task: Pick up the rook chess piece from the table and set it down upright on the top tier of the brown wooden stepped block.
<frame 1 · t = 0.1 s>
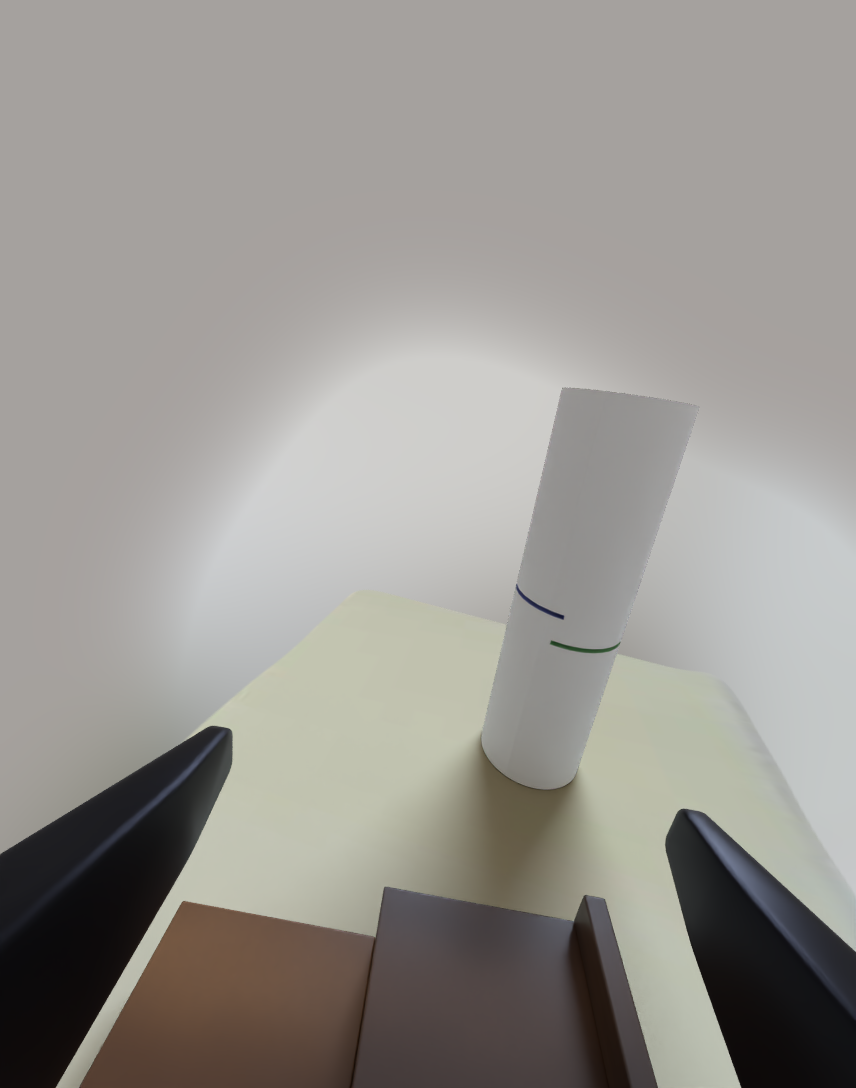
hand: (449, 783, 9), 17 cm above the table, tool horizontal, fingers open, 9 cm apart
cylindrical container: (528, 749, 33), on the table
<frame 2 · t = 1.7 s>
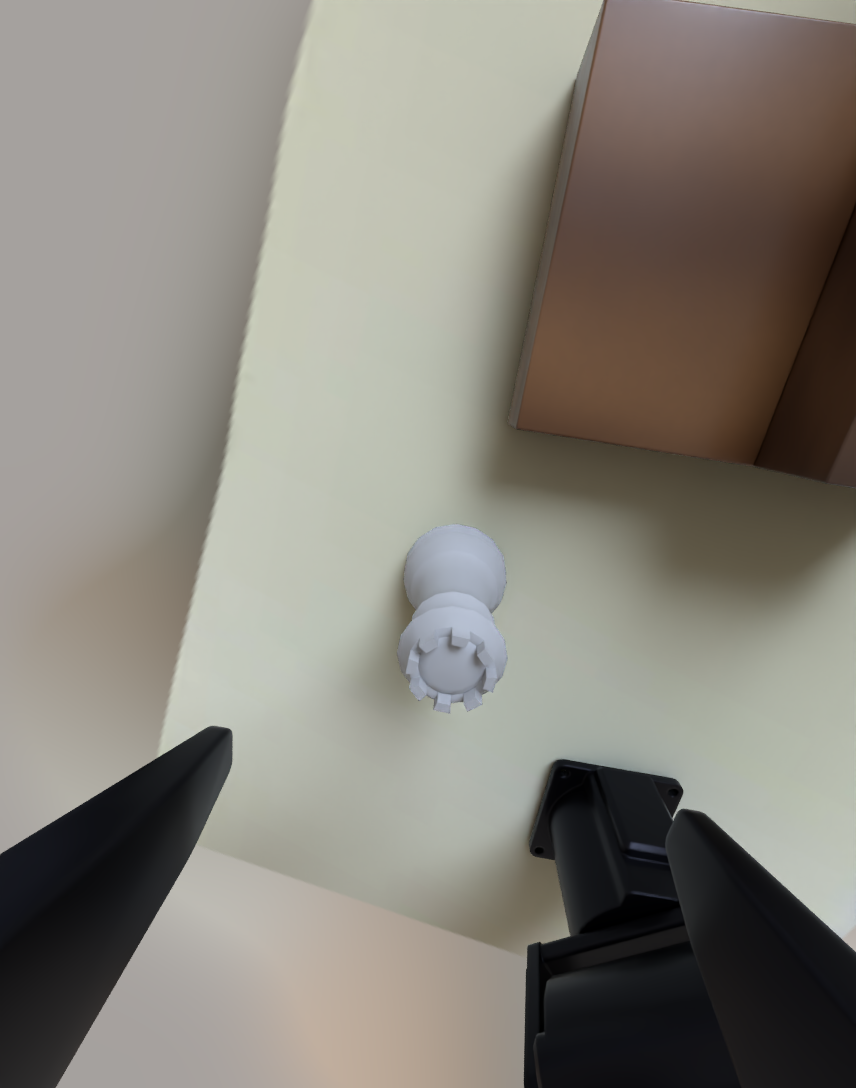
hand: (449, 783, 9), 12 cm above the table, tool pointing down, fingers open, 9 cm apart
rook chess piece: (455, 567, 20), on the table
brown wooden stepped block: (760, 301, 16), on the table
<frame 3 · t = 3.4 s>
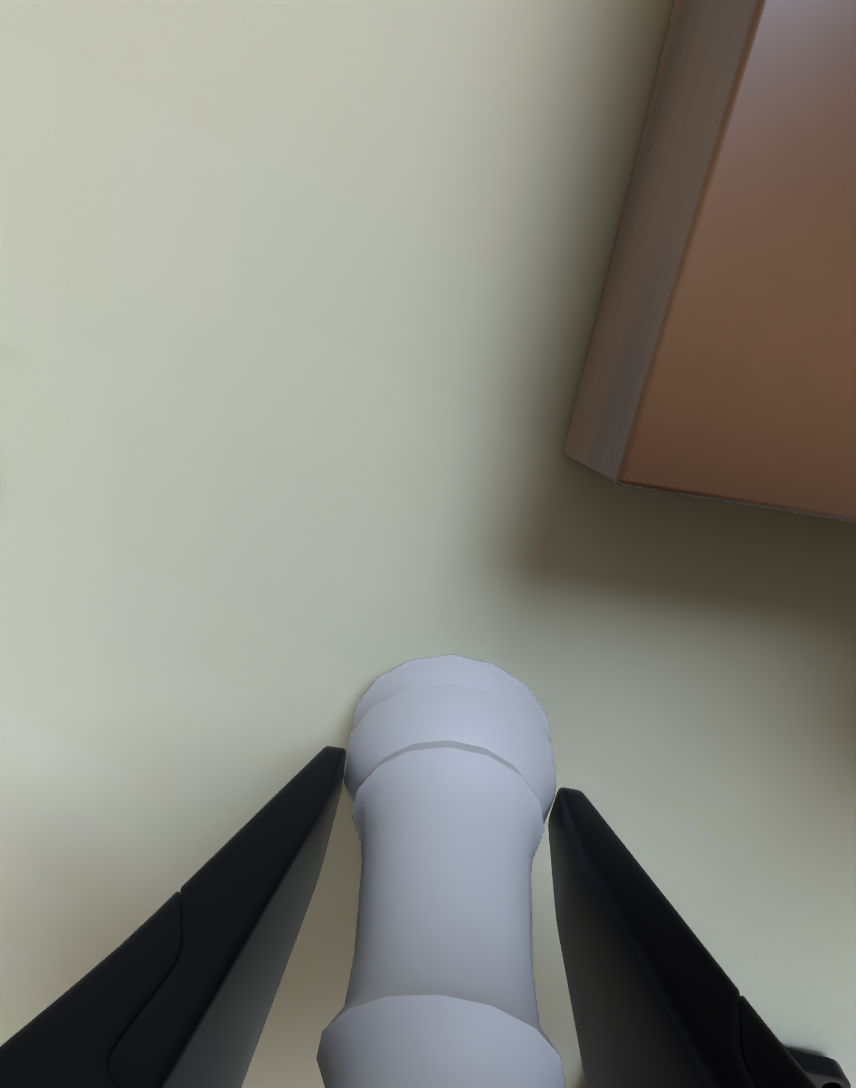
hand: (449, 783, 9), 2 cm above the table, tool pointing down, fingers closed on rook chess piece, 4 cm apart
rook chess piece: (450, 719, 10), on the table, touching gripper
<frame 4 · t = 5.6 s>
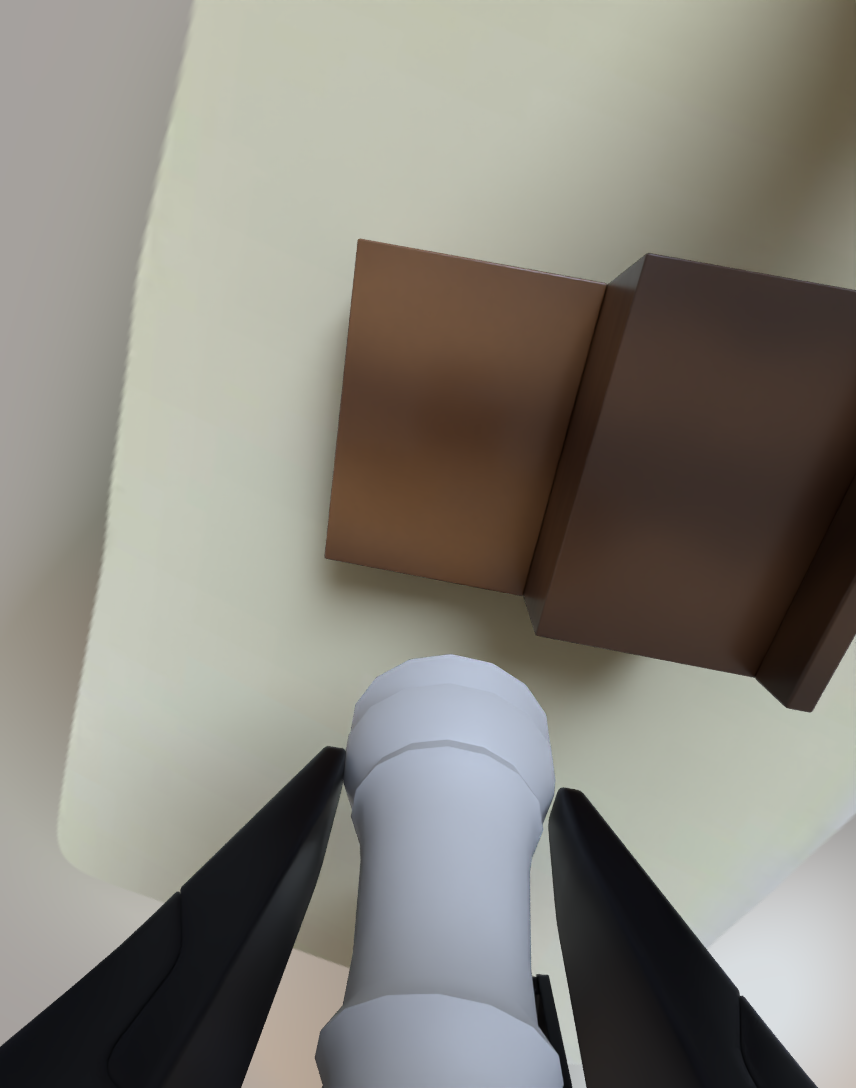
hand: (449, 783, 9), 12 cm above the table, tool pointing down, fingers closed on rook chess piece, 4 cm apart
rook chess piece: (449, 719, 10), point 10 cm above the table, touching gripper
brown wooden stepped block: (545, 448, 18), on the table
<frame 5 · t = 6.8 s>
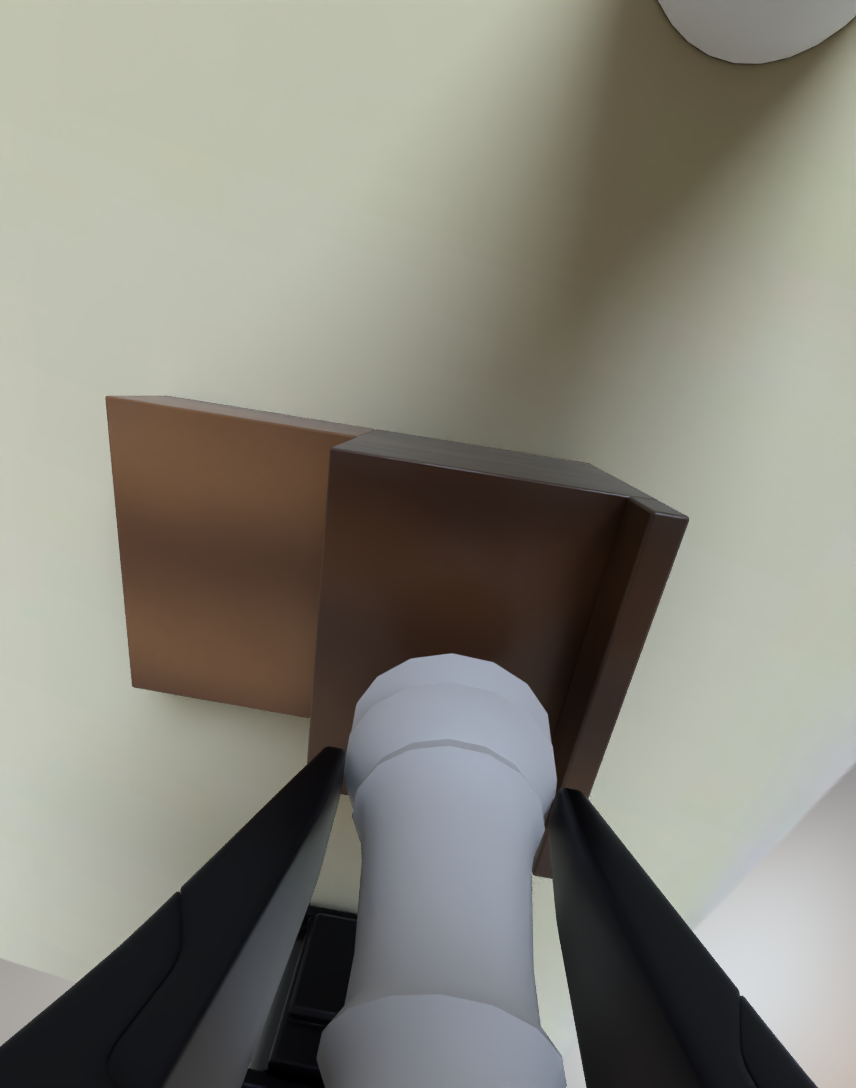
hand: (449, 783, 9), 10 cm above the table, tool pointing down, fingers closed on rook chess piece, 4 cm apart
rook chess piece: (450, 718, 10), point 8 cm above the table, touching gripper
brown wooden stepped block: (361, 564, 18), on the table
when the fingers open (8 cm above the table, at t = 7.9 s): rook chess piece stays where it is, resting on brown wooden stepped block.
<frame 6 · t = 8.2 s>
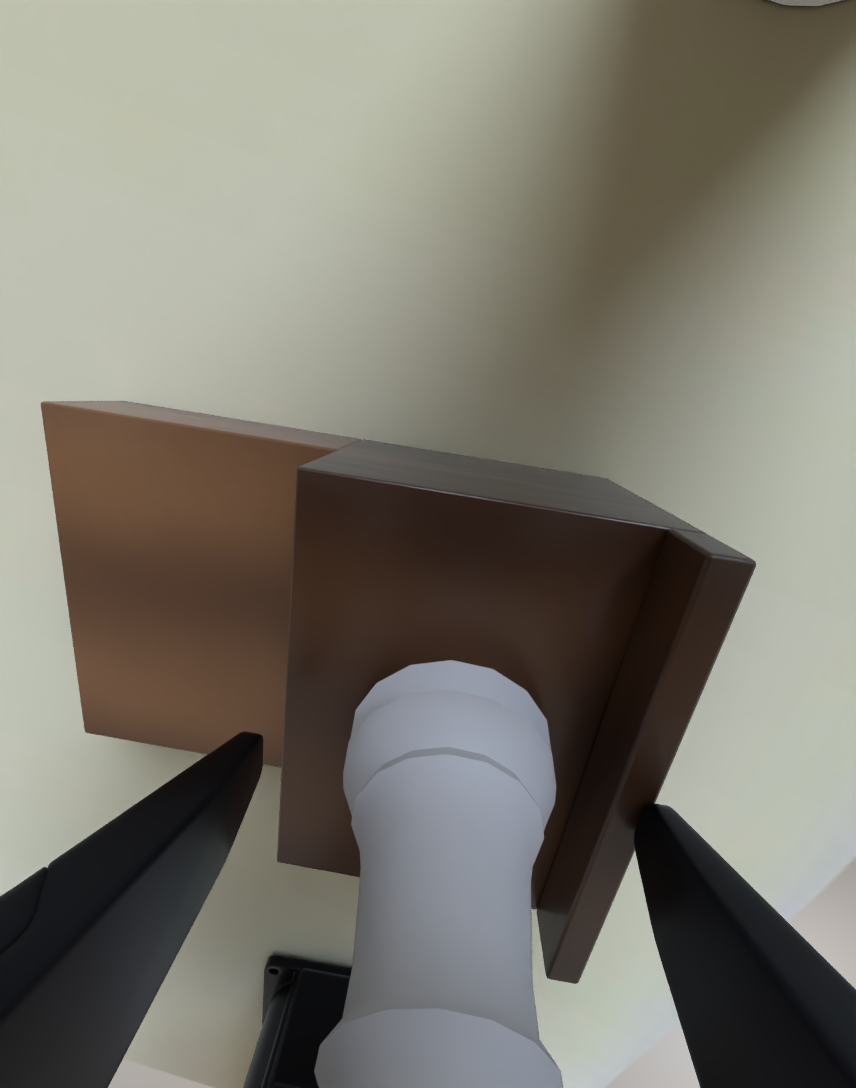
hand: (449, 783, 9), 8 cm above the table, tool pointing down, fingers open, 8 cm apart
rook chess piece: (449, 724, 10), point 6 cm above the table, touching brown wooden stepped block
brown wooden stepped block: (347, 591, 16), on the table
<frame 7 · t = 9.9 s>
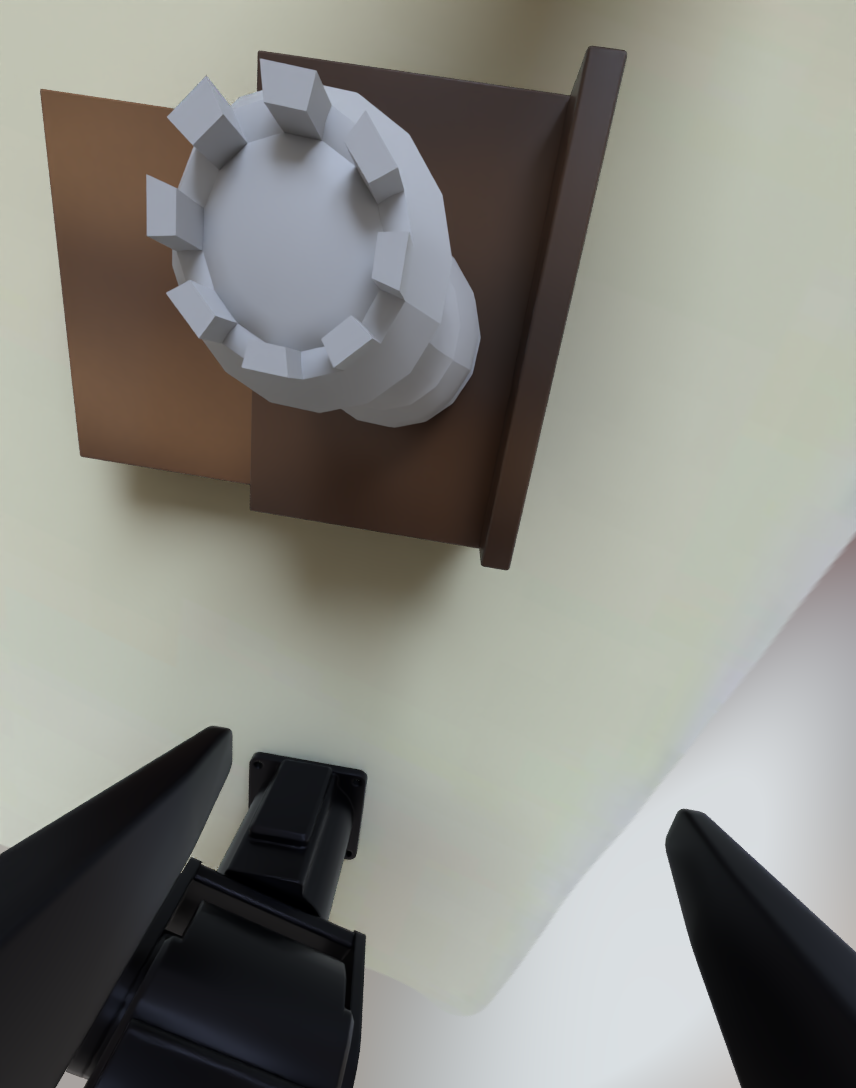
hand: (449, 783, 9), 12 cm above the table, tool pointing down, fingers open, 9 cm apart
rook chess piece: (396, 341, 12), point 6 cm above the table, touching brown wooden stepped block
brown wooden stepped block: (320, 341, 17), on the table
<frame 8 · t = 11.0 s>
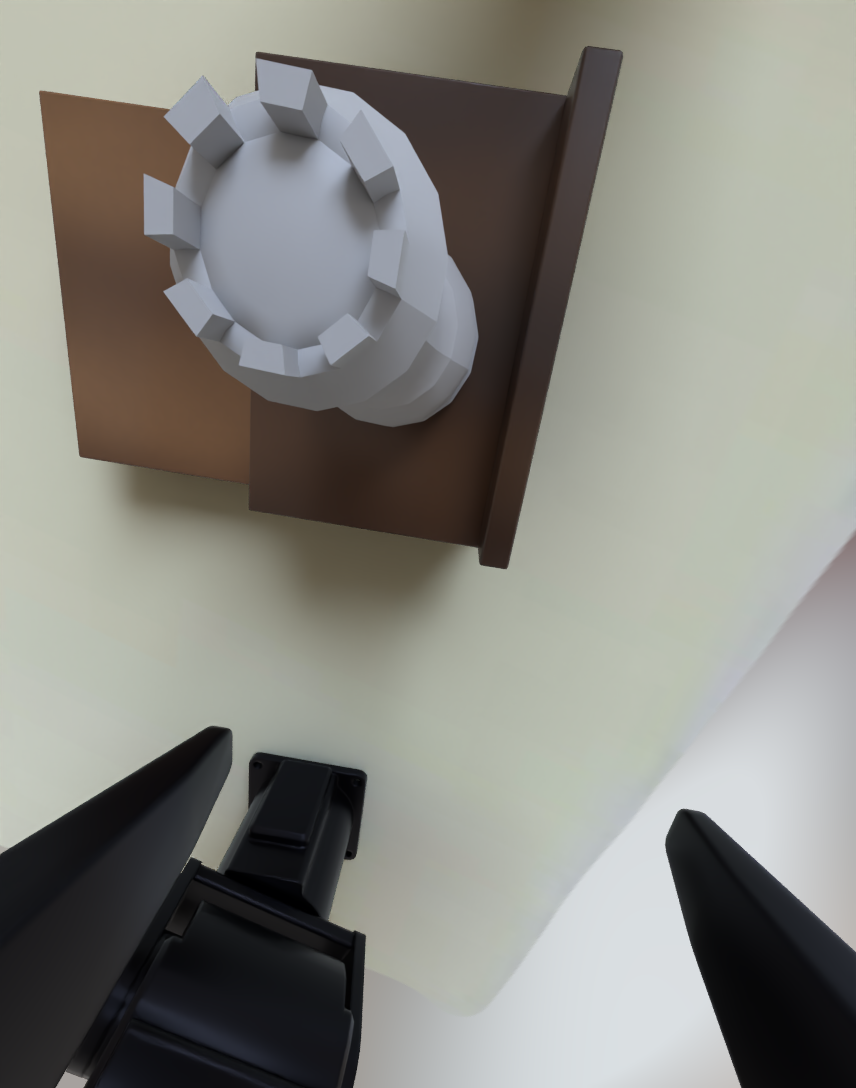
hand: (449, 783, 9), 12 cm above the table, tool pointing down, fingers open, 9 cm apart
rook chess piece: (395, 340, 12), point 6 cm above the table, touching brown wooden stepped block
brown wooden stepped block: (319, 342, 17), on the table
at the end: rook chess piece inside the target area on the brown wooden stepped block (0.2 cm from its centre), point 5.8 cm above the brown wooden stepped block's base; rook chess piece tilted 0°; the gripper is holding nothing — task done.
